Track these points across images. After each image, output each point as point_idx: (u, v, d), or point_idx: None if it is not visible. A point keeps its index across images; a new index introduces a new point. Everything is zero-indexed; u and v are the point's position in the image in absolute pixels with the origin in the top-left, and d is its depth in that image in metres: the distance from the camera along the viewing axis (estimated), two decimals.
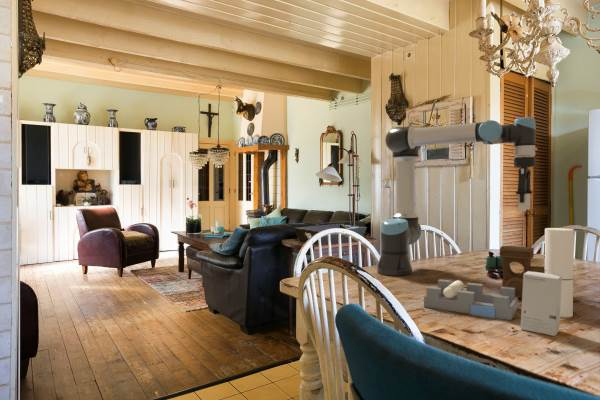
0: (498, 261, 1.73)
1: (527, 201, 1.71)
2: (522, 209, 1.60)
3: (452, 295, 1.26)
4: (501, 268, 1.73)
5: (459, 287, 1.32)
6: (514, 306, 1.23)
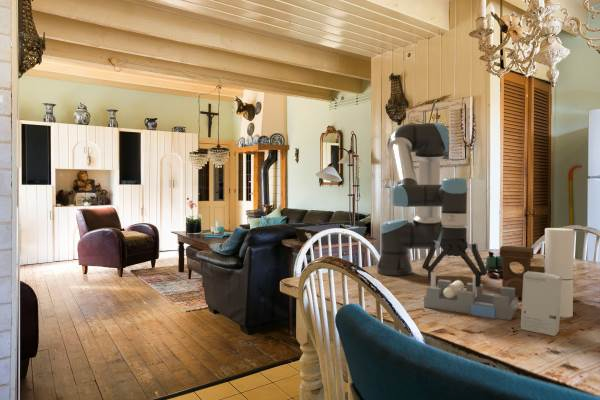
0: (498, 261, 1.73)
1: None
2: None
3: (452, 295, 1.26)
4: (501, 268, 1.73)
5: (459, 287, 1.32)
6: (514, 306, 1.23)
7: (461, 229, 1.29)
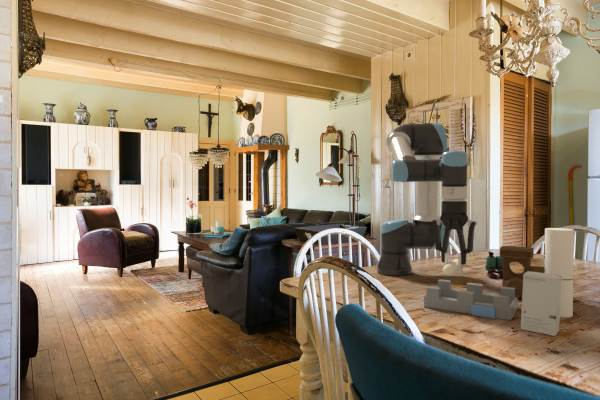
0: (498, 261, 1.73)
1: None
2: None
3: (452, 272, 1.26)
4: (501, 268, 1.73)
5: None
6: (514, 306, 1.23)
7: (461, 202, 1.28)
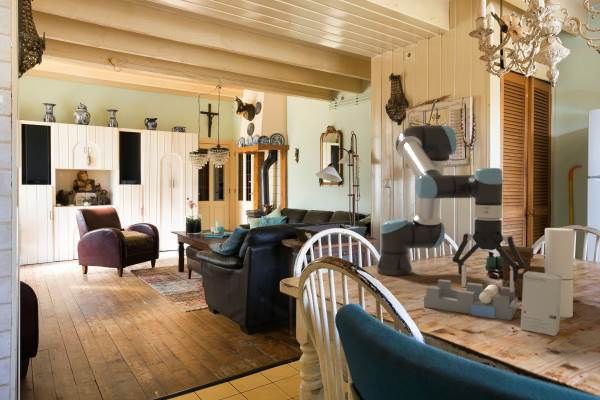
0: (498, 261, 1.73)
1: None
2: None
3: (489, 301, 1.20)
4: (501, 268, 1.73)
5: (495, 293, 1.26)
6: (514, 306, 1.23)
7: (497, 222, 1.23)
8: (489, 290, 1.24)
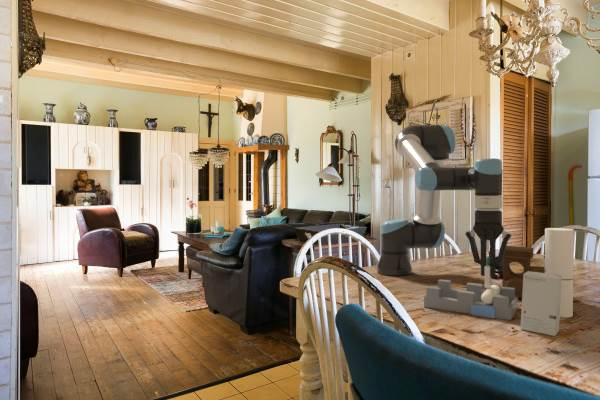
0: None
1: None
2: None
3: (490, 302, 1.20)
4: (501, 268, 1.73)
5: None
6: (514, 306, 1.23)
7: (497, 212, 1.23)
8: (493, 291, 1.23)
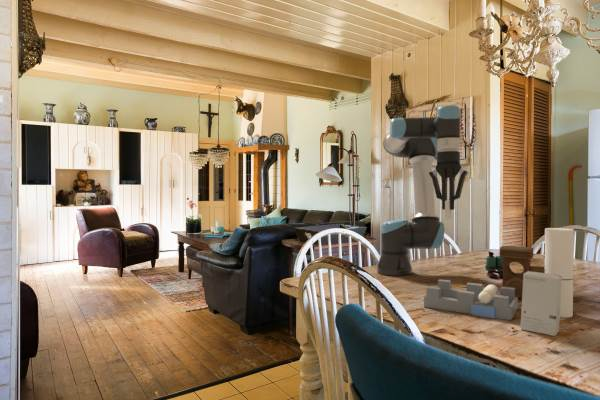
0: (498, 261, 1.73)
1: None
2: None
3: (488, 300, 1.20)
4: (501, 268, 1.73)
5: (494, 292, 1.26)
6: (514, 306, 1.23)
7: (455, 152, 1.40)
8: (488, 290, 1.24)
